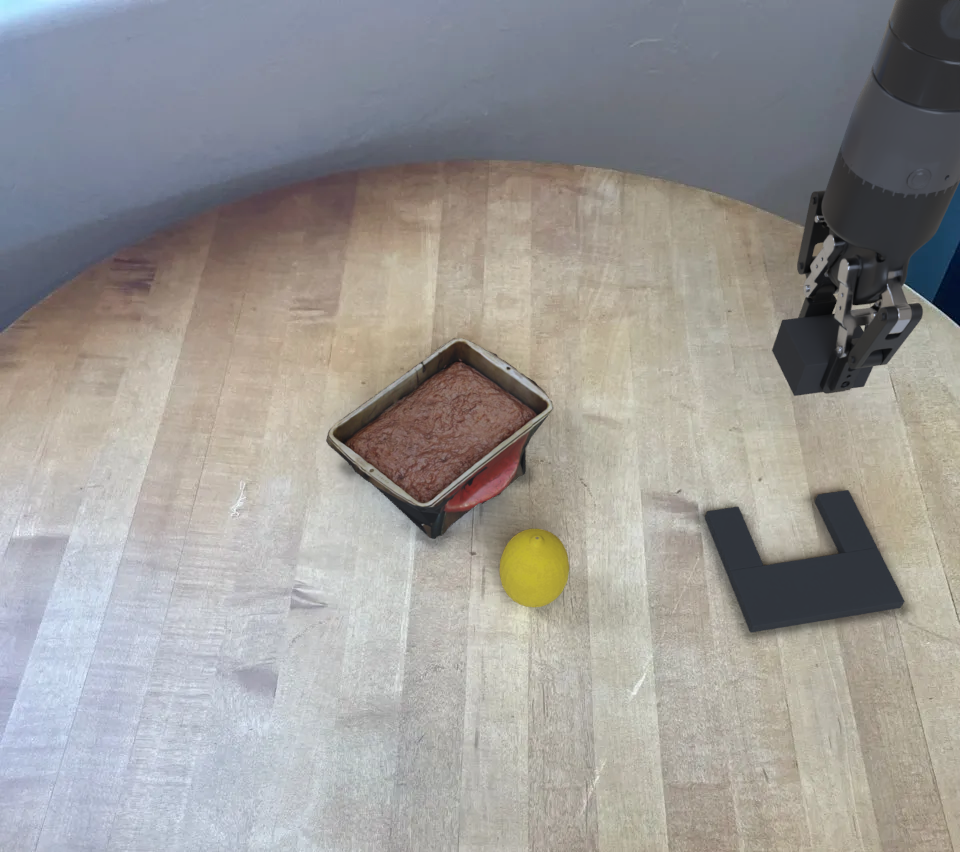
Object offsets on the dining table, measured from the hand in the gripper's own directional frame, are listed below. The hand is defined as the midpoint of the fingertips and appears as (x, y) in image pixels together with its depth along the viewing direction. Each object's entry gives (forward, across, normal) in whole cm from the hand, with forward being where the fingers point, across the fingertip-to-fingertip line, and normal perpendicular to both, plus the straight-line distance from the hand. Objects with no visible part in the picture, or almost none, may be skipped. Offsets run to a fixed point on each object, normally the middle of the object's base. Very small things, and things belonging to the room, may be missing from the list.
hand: (820, 362), depth 75 cm
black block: (+1, 0, 0) cm, 1 cm away
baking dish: (+16, +8, +28) cm, 33 cm away
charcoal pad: (+15, -8, 0) cm, 17 cm away
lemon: (+16, -7, +23) cm, 29 cm away
